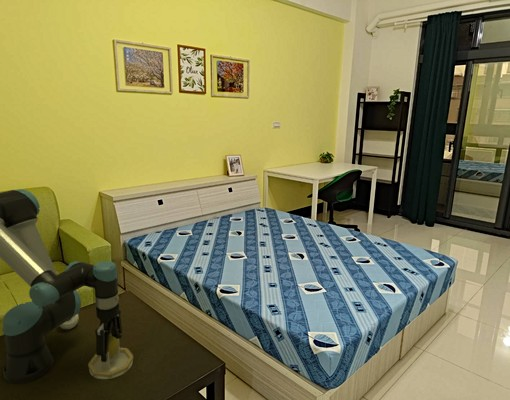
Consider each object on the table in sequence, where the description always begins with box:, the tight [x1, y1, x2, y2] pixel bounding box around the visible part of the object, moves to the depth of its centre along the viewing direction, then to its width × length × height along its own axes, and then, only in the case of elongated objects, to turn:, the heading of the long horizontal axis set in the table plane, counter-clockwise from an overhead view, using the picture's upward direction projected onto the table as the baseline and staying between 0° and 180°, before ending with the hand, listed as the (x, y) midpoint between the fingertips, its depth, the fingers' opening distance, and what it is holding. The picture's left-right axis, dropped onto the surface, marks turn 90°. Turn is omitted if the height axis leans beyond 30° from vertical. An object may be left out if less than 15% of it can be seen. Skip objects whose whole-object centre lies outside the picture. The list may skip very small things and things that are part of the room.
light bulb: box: [108, 335, 120, 364], centre depth 130 cm, size 7×7×10 cm
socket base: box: [87, 347, 134, 380], centre depth 131 cm, size 15×15×2 cm
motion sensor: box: [59, 313, 80, 330], centre depth 151 cm, size 8×8×8 cm
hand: (111, 360), depth 131 cm, fingers closed on light bulb, 7 cm apart
